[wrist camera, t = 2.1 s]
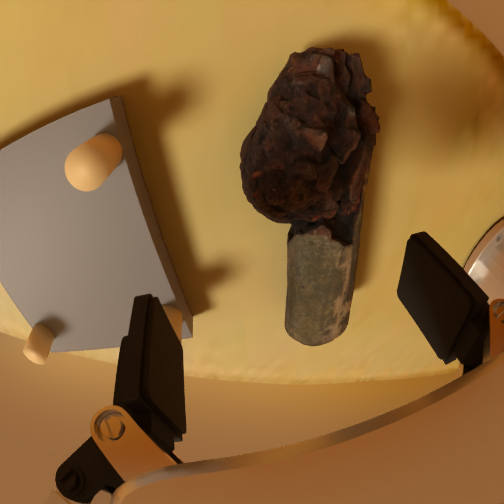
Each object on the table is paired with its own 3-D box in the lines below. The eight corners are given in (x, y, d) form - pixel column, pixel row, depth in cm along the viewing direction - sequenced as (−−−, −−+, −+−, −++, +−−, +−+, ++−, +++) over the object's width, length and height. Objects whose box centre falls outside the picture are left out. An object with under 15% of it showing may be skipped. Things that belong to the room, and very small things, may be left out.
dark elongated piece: (338, 296, 23) (363, 350, 18) (254, 310, 23) (265, 371, 18) (349, 52, 13) (406, 51, 8) (225, 54, 13) (232, 43, 8)
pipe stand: (121, 95, 13) (89, 104, 9) (192, 317, 22) (192, 366, 18) (-32, 171, 12) (-71, 199, 9) (58, 335, 21) (44, 375, 18)
